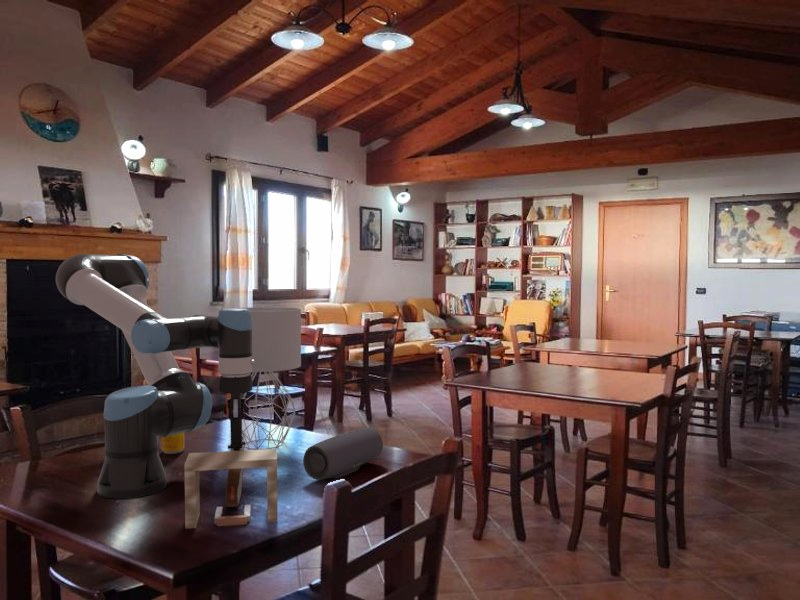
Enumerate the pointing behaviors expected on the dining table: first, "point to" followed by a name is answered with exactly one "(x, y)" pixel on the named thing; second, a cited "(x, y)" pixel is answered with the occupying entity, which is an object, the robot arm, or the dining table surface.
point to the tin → (234, 487)
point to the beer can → (173, 444)
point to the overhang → (228, 461)
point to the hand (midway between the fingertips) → (237, 474)
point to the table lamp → (274, 355)
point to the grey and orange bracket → (232, 517)
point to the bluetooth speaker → (342, 453)
